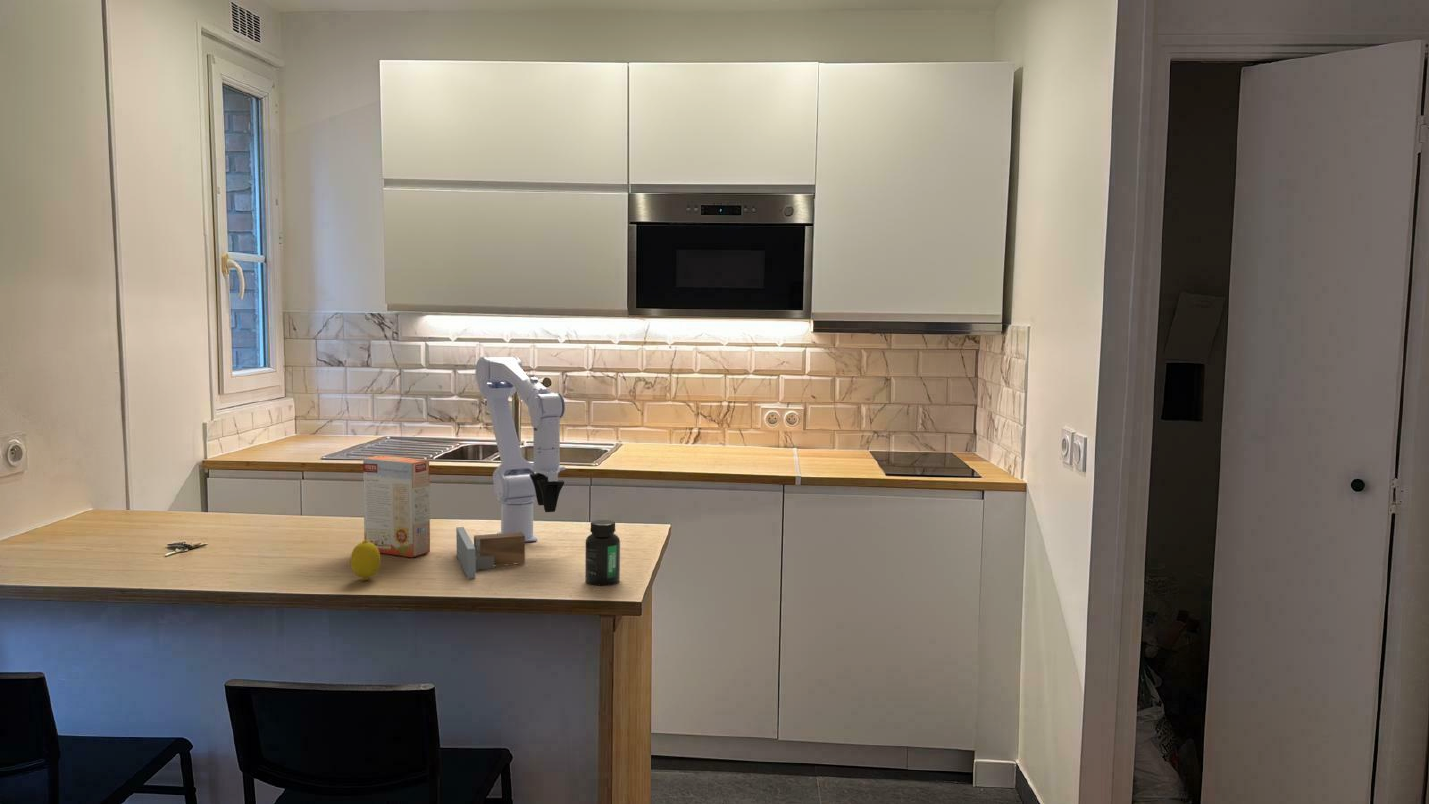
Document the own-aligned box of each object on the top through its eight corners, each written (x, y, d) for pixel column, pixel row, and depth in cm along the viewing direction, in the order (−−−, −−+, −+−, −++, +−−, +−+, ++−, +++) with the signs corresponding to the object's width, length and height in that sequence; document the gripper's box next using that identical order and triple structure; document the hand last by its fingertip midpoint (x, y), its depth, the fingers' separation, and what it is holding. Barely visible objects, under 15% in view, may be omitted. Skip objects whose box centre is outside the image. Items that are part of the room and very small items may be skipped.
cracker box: (431, 552, 207) (430, 459, 205) (412, 559, 201) (411, 462, 199) (383, 545, 213) (382, 453, 211) (363, 551, 207) (361, 457, 205)
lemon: (355, 576, 188) (354, 537, 187) (384, 576, 188) (383, 537, 187) (347, 584, 182) (346, 543, 181) (376, 584, 183) (375, 543, 182)
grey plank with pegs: (456, 554, 206) (456, 527, 205) (484, 552, 208) (484, 525, 208) (467, 578, 187) (467, 549, 187) (498, 576, 190) (498, 546, 189)
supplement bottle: (620, 585, 185) (621, 525, 183) (585, 586, 183) (586, 526, 182) (618, 576, 191) (619, 518, 190) (584, 577, 190) (585, 518, 189)
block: (474, 563, 199) (473, 535, 199) (521, 559, 203) (521, 532, 203) (476, 567, 196) (476, 539, 195) (524, 563, 200) (524, 535, 199)
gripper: (571, 451, 202) (571, 513, 203) (557, 442, 215) (557, 501, 216) (539, 452, 199) (539, 515, 200) (526, 443, 213) (526, 502, 214)
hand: (546, 508), depth 208 cm, fingers open, 7 cm apart
